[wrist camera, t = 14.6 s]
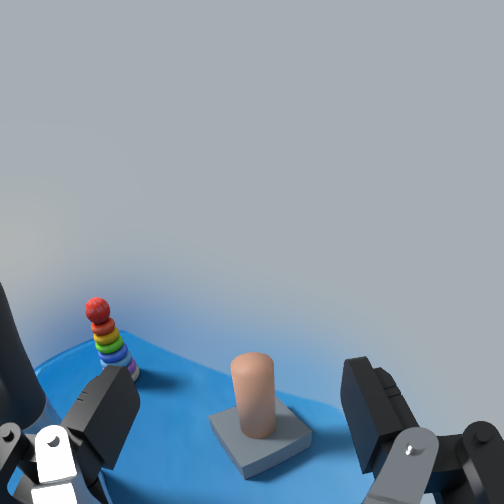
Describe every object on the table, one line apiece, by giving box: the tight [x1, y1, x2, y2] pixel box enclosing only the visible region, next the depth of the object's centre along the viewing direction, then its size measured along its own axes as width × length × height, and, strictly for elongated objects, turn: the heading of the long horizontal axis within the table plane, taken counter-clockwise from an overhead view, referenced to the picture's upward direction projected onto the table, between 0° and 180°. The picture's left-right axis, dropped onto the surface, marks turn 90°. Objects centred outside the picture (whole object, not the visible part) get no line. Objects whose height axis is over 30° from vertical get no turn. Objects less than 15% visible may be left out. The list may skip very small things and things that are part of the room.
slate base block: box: [208, 396, 313, 480], centre depth 35 cm, size 11×11×4 cm
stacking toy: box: [85, 297, 140, 382], centre depth 49 cm, size 8×8×19 cm
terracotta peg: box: [231, 352, 276, 439], centre depth 33 cm, size 5×5×12 cm
